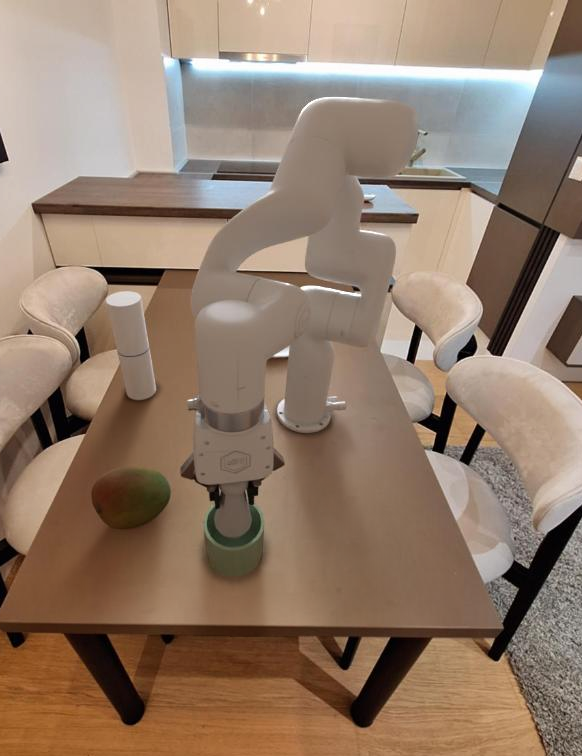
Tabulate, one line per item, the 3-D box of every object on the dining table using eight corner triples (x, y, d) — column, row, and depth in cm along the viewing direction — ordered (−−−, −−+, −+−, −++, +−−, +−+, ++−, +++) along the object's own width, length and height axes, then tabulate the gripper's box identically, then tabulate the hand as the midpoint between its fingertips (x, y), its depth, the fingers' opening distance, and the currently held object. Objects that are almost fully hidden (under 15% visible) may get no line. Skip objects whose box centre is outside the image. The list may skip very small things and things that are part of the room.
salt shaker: (246, 548, 60) (249, 495, 52) (210, 540, 61) (207, 487, 53) (254, 515, 65) (257, 462, 57) (220, 508, 66) (219, 455, 58)
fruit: (89, 511, 72) (75, 475, 66) (149, 473, 79) (141, 438, 73) (122, 555, 66) (110, 520, 59) (184, 510, 73) (179, 474, 66)
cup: (257, 521, 71) (258, 493, 66) (266, 572, 64) (269, 545, 59) (204, 527, 70) (202, 500, 65) (208, 581, 63) (205, 554, 58)
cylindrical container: (126, 402, 96) (105, 307, 80) (126, 384, 101) (106, 292, 86) (157, 397, 97) (141, 304, 82) (155, 380, 103) (140, 289, 87)
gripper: (159, 433, 43) (175, 529, 54) (309, 419, 46) (295, 514, 57) (160, 390, 49) (175, 484, 60) (294, 380, 51) (284, 472, 63)
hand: (233, 498), depth 58 cm, fingers closed on salt shaker, 4 cm apart
